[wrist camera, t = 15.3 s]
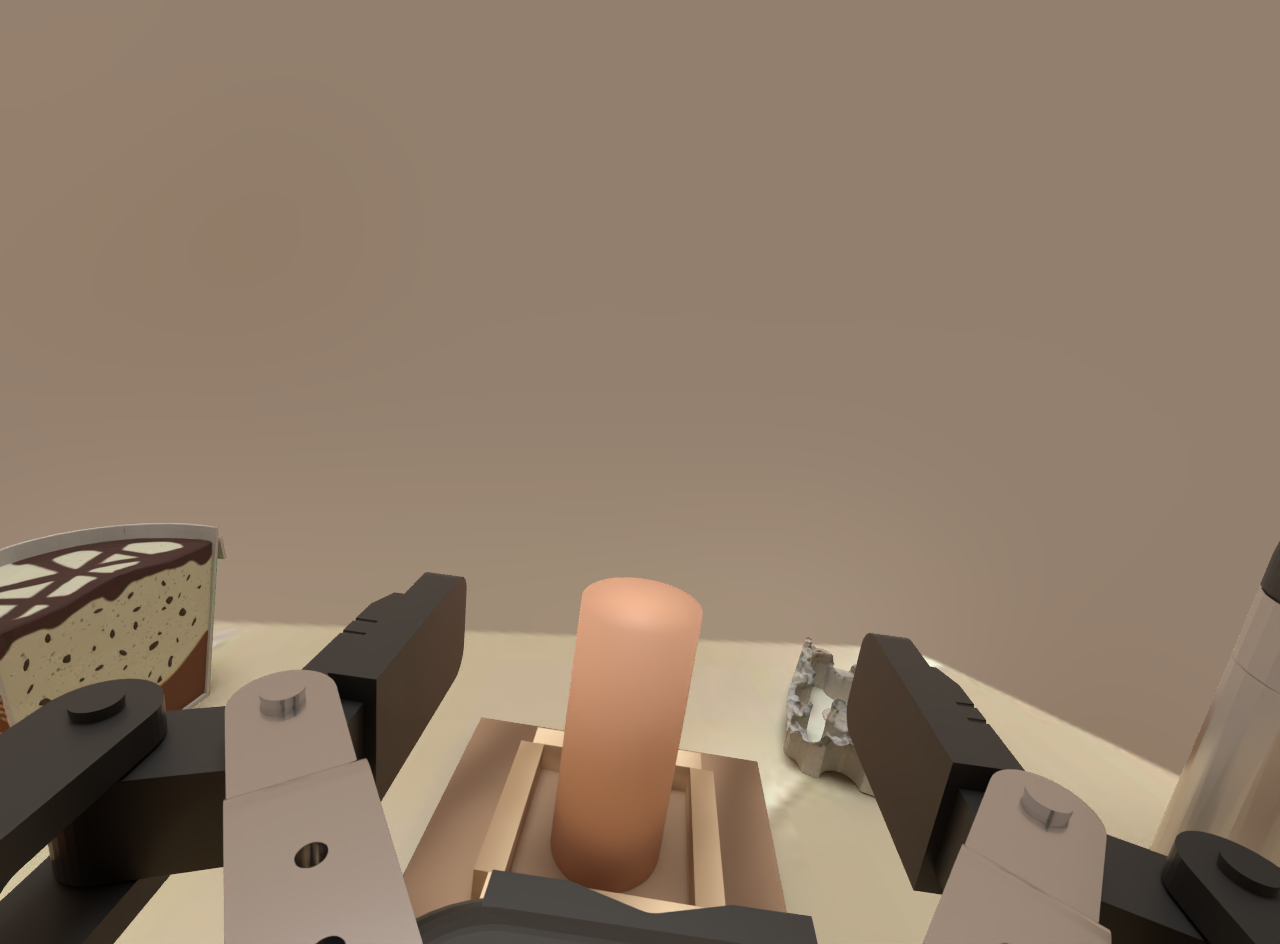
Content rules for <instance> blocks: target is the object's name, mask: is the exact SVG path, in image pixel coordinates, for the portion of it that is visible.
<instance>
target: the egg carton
mask: <svg viewBox="0 0 1280 944" xmlns="http://www.w3.org/2000/svg"><path fill="white" fill-rule="evenodd" d="M811 644H812V642H811V639H810V638H806V640H805V642H804V645H803V649H802V652H801V655H800V658H799V661H798V664H797V667H796V669H795V673H794V676H793V679H792V683H791V685H790V688H789V691H788V696H787V717H788V722H787V728H786V731H788V734H787V738H786V742H785V746H784V753H785V754H786V755H788V756H789V757H791V758H793V759H794V760H795V761H796V762H797V763H798V765H799V767H800V769H801V772H802V773H805V774H808V775H810V776H813V777H816V778H819V776H820V774H821V773H822V772H825V771H837V772H840V773H842V774H844V775H846V776H848V777H849V778H850V779H851V780H853V781H854V782H855V784H856V785H857V786H858V788H859V789H860V791H861V792H863V793H866V794H869V795H872V796H874V793H873V791H872V789H871V786H870V784H869V781H868V779H867V777H866V774H865V772H864V769H863V767H862V765H861V762H860V760H859V757H858V755H857V753H856V750H855V748H854V745H853V743H852V740H851V738H850V735H849V732H848V727H847V705H846V703H848V698H849V694H850V690H851V686H852V682H853V677H854V673H855V669H856V665H853V666H852V667H851V670H850V671H845V670H841V669H836V668H834V667H833V665H834V663H833V656H832V654H831V653H829V652H828V651H826V650H823V649H819V648H815V647H814V646H812V645H811ZM812 685H813V686H816V687H819V688H822V689H823V690H824V692H825V693H826V695H827V696H829V697H830V698H832V699H833V700H835V701H834V702H833V703H832V706H831V709H826V710H824V711H823V713H822V714H823V718H824V719H825V721H826V723H825V728H824V732H823V736H822V738H821V740H820V741H819V742H815V743H813V742H811V741H809V740H808V739H807V732H806V729H807V725H808V720H809V716H810V711H811V708H812V706H813V704H812V703H811V702H809V698H810V693H811V689H812ZM808 702H809V703H808ZM874 797H875V796H874Z"/></svg>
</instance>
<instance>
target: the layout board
mask: <svg viewBox="0 0 1280 944" xmlns="http://www.w3.org/2000/svg"><path fill="white" fill-rule="evenodd" d="M563 739H564V731H563V730H557V729H550V728H544V727H538V726H532V725H525V724H519V723H513V722H507V721H500V720H494V719H488V718H481V720H480V722H479V724H478V726H477V728H476V730H475V732H474V734H473V736H472V738H471V740H470V742H469V744H468V746H467V748H466V750H465V752H464V754H463V756H462V758H461V760H460V762H459V764H458V766H457V768H456V770H455V772H454V774H453V776H452V778H451V780H450V782H449V784H448V786H447V788H446V790H445V792H444V794H443V796H442V798H441V800H440V802H439V804H438V806H437V808H436V810H435V812H434V814H433V816H432V818H431V820H430V822H429V824H428V826H427V828H426V830H425V832H424V834H423V836H422V838H421V840H420V842H419V844H418V846H417V848H416V850H415V852H414V854H413V856H412V858H411V860H410V862H409V864H408V866H407V868H406V870H405V872H404V874H403V879H404V882H405V886H406V889H407V892H408V896H409V899H410V902H411V906H412V909H413V912H414V916H415V918H418V917H420V916H422V915H424V914H426V913H428V912H430V911H433V910H436V909H439V908H442V907H444V906H447V905H450V904H454V903H459V902H463V901H467V900H472V899H480V898H484V895H485V892H486V889H487V885H488V882H489V879H490V876H491V873H492V870H500V871H507V872H514V873H520V874H527V875H534V876H541V877H547V878H554V879H561V880H568V881H571V880H569V879H568V878H567V877H566V876H565V875H564V874H563V873H562V872H561V871H560V869H559V868H558V866H557V865H556V863H555V861H554V859H553V856H552V853H551V846H550V840H551V832H552V824H553V816H554V809H555V801H556V793H557V786H558V778H559V770H560V762H561V755H562V747H563ZM591 890H593V891H596V892H598V893H601V894H603V895H605V896H608V897H610V898H613V899H615V900H618V901H620V902H622V903H625V904H627V905H630V906H632V907H634V908H637V909H639V910H642V911H645V912H648V913H664V912H673V911H682V910H691V909H700V908H709V907H717V906H726V905H737V906H744V907H751V908H757V909H764V910H771V911H778V912H784V913H787V911H786V906H785V901H784V896H783V891H782V886H781V881H780V876H779V871H778V865H777V860H776V855H775V850H774V845H773V840H772V835H771V830H770V825H769V819H768V814H767V809H766V804H765V799H764V794H763V789H762V784H761V779H760V774H759V768H758V763H757V762H756V761H750V760H744V759H737V758H731V757H725V756H719V755H712V754H706V753H700V752H694V751H687V750H681V749H678V755H677V760H676V766H675V771H674V777H673V782H672V788H671V793H670V799H669V804H668V810H667V815H666V821H665V826H664V832H663V837H662V843H661V848H660V854H659V859H658V862H657V865H656V867H655V869H654V871H653V872H652V874H651V875H650V876H649V877H648V879H647V880H645V881H644V882H643V883H642V884H640V885H639V886H637V887H635V888H633V889H630V890H628V891H624V892H619V893H613V892H607V891H601V890H595V889H591Z"/></svg>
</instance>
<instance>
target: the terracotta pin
mask: <svg viewBox="0 0 1280 944" xmlns="http://www.w3.org/2000/svg"><path fill="white" fill-rule="evenodd" d="M702 617H703V612H702V608H701V606H700V605H699V603H698V602H697V601H696V600H695V599H694V598H693V597H691V596H690V595H689V594H687V593H685V592H684V591H682V590H680V589H678V588H676V587H673V586H670V585H668V584H665V583H661V582H658V581H653V580H647V579H642V578H630V577H629V578H628V577H627V578H626V577H625V578H624V577H621V578H610V579H605V580H601V581H598V582H595V583H593V584H591V585H590V586H588V587H587V588H586V589H585V590H584V592H583V594H582V600H581V608H580V616H579V623H578V631H577V639H576V646H575V654H574V662H573V670H572V677H571V685H570V693H569V700H568V708H567V716H566V724H565V731H564V739H563V747H562V755H561V762H560V770H559V778H558V786H557V793H556V801H555V809H554V816H553V824H552V832H551V840H550V846H551V853H552V856H553V859H554V861H555V863H556V865H557V866H558V868H559V869H560V871H561V872H562V873H563V874H564V875H565V876H566V877H567V878H568V879H569V880H571V881H572V882H574V883H577V884H579V885H581V886H584V887H586V888H589V889H595V890H601V891H607V892H613V893H619V892H624V891H628V890H630V889H633V888H635V887H637V886H639V885H640V884H642V883H643V882H644V881H645V880H647V879H648V877H649V876H650V875H651V874H652V872H653V871H654V869H655V867H656V865H657V862H658V859H659V854H660V848H661V843H662V837H663V832H664V826H665V821H666V815H667V810H668V804H669V799H670V793H671V788H672V782H673V777H674V771H675V766H676V760H677V755H678V749H679V743H680V738H681V732H682V727H683V721H684V716H685V710H686V705H687V699H688V694H689V688H690V683H691V677H692V672H693V666H694V661H695V655H696V650H697V644H698V639H699V633H700V628H701V622H702Z"/></svg>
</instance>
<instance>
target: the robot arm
mask: <svg viewBox="0 0 1280 944" xmlns="http://www.w3.org/2000/svg"><path fill="white" fill-rule="evenodd" d="M465 608H466V581H465V578H464V577H459V576H452V575H444V574H437V573H429V572H426V573H424V574H423V575H422V576H421V577H420V578H419V580H417V581H416V583H415V584H414V585H413V586H412V587H411V588H410V589H409V590H408V591H407V592H406V593H405V594H401V593H393V594H391V595H389V596H386V597H384V598H382V599H380V600H378V601H376V602H374V603H371V604H370V605H369V606H368V607H367V608H366V609H365V610H364V611H363V612H362V613H361V614H360V615H359V616H358V617H357V618H356V621H352V622H351V623H350V624H349V625H348V626H347V627H346V628H345V629H344V630H343V633H340V634H339V635H338V636H336V637H335V638H334V639H333V640H332V641H331V642H330V643H329V644H328V645H327V646H326V647H325V648H324V649H323V650H322V651H321V652H320V653H319V654H318V655H316V656H315V657H314V658H313V659H312V660H311V661H310V662H309V663H308V664H307V665H306V666H305V667H304V668H303V669H302V670H289V671H283V672H278V673H274V674H270V675H267V676H264V677H261V678H259V679H256V680H254V681H252V682H250V683H248V684H246V685H245V686H243V687H242V688H240V689H239V690H238V691H237V692H235V693H234V694H233V695H232V696H231V698H230V699H229V700H228V702H227V704H226V706H222V707H211V708H197V709H184V710H170V711H166V707H165V698H164V692H163V689H162V688H161V687H160V686H159V685H158V684H156V683H154V682H152V681H148V680H143V679H117V680H109V681H104V682H99V683H95V684H91V685H87V686H84V687H81V688H78V689H75V690H73V691H70V692H68V693H66V694H63V695H61V696H59V697H57V698H55V699H53V700H52V701H50V702H48V703H47V704H45V705H43V706H42V707H40V708H39V709H37V710H36V711H34V712H33V713H31V714H30V715H28V716H27V717H25V718H24V719H22V720H21V721H19V722H18V723H16V724H15V725H13V726H12V727H10V728H9V729H7V730H6V731H4V732H3V733H1V734H0V893H1V892H2V890H3V888H4V887H5V886H6V884H7V883H8V882H9V880H10V879H11V878H12V877H13V876H14V875H15V874H16V873H17V872H18V871H19V870H20V869H21V868H22V867H23V866H24V865H25V864H26V863H27V862H28V861H30V860H31V859H32V858H33V857H34V856H35V855H36V854H37V853H38V852H40V851H41V850H42V849H43V848H44V847H45V846H46V845H47V844H48V847H49V853H50V856H49V857H48V858H46V859H45V860H44V861H43V862H42V863H41V864H40V865H39V866H38V867H37V868H36V869H35V870H34V871H32V872H31V873H30V874H29V875H28V876H27V877H26V878H25V879H24V880H23V881H22V882H21V883H20V884H18V885H17V886H16V887H15V888H14V889H13V890H12V891H11V892H10V893H9V894H8V895H7V896H5V897H4V898H3V899H2V900H1V901H0V944H114V942H115V941H116V940H117V939H118V938H119V936H120V935H121V934H122V933H123V932H124V930H125V929H126V928H127V927H128V925H129V924H130V923H131V922H132V921H133V919H134V918H135V917H136V916H137V915H138V913H139V912H140V911H141V910H142V909H143V907H144V906H145V905H146V904H147V903H148V901H149V900H150V899H151V898H152V897H153V895H154V894H155V893H156V892H157V890H158V889H159V888H160V887H161V886H162V884H163V883H164V882H165V881H166V880H167V878H168V877H169V876H170V875H171V874H178V873H185V872H192V871H198V870H205V869H212V868H219V867H224V944H818V943H817V939H816V934H815V930H814V926H813V921H812V917H811V916H805V915H798V914H791V913H784V912H778V911H771V910H764V909H757V908H751V907H744V906H737V905H726V906H717V907H709V908H700V909H691V910H682V911H673V912H664V913H648V912H645V911H642V910H639V909H637V908H634V907H632V906H630V905H627V904H625V903H622V902H620V901H618V900H615V899H613V898H610V897H608V896H605V895H603V894H601V893H598V892H596V891H593V890H591V889H589V888H586V887H584V886H581V885H579V884H577V883H574V882H572V881H568V880H561V879H554V878H547V877H541V876H534V875H527V874H520V873H514V872H507V871H500V870H492V873H491V876H490V879H489V882H488V885H487V889H486V892H485V895H484V898H480V899H472V900H467V901H463V902H459V903H454V904H450V905H447V906H444V907H442V908H439V909H436V910H433V911H430V912H428V913H426V914H424V915H422V916H420V917H418V918H415V916H414V912H413V909H412V906H411V902H410V899H409V896H408V892H407V889H406V886H405V882H404V879H403V876H402V872H401V869H400V865H399V862H398V859H397V855H396V852H395V849H394V845H393V842H392V839H391V835H390V832H389V829H388V825H387V822H386V819H385V815H384V812H383V808H382V805H381V801H382V799H383V797H384V796H385V794H386V792H387V791H388V789H389V787H390V786H391V784H392V782H393V781H394V779H395V777H396V776H397V774H398V773H399V771H400V769H401V768H402V766H403V764H404V763H405V761H406V759H407V758H408V756H409V754H410V753H411V751H412V749H413V748H414V746H415V744H416V743H417V741H418V739H419V738H420V736H421V734H422V733H423V731H424V730H425V728H426V726H427V725H428V723H429V721H430V720H431V718H432V716H433V715H434V713H435V711H436V710H437V708H438V706H439V705H440V703H441V701H442V700H443V698H444V696H445V695H446V693H447V692H448V690H449V688H450V687H451V685H452V683H453V682H454V680H455V678H456V676H457V674H458V671H459V668H460V665H461V661H462V656H463V649H464V632H465ZM847 727H848V732H849V735H850V738H851V740H852V743H853V745H854V748H855V750H856V753H857V755H858V757H859V760H860V762H861V765H862V767H863V769H864V772H865V774H866V777H867V779H868V781H869V784H870V786H871V789H872V791H873V793H874V796H875V798H876V801H877V803H878V806H879V808H880V810H881V813H882V815H883V818H884V820H885V822H886V825H887V827H888V830H889V832H890V834H891V837H892V839H893V842H894V844H895V847H896V849H897V851H898V854H899V856H900V859H901V861H902V863H903V866H904V868H905V871H906V873H907V875H908V878H909V880H910V883H911V885H912V888H913V890H915V891H921V892H928V893H935V894H942V896H941V899H940V901H939V904H938V906H937V909H936V911H935V914H934V916H933V919H932V921H931V924H930V926H929V929H928V931H927V934H926V936H925V939H924V941H923V944H1280V542H1279V544H1278V545H1277V547H1276V549H1275V551H1274V553H1273V555H1272V557H1271V560H1270V562H1269V564H1268V567H1267V569H1266V572H1265V574H1264V577H1263V579H1262V581H1261V586H1260V588H1259V590H1258V592H1257V594H1256V597H1255V599H1254V601H1253V604H1252V606H1251V609H1250V611H1249V613H1248V616H1247V618H1246V620H1245V623H1244V625H1243V628H1242V630H1241V632H1240V635H1239V637H1238V640H1237V642H1236V644H1235V647H1234V649H1233V651H1232V655H1231V657H1230V660H1229V662H1228V664H1227V667H1226V670H1225V672H1224V674H1223V676H1222V679H1221V681H1220V683H1219V686H1218V688H1217V691H1216V693H1215V695H1214V698H1213V700H1212V702H1211V705H1210V707H1209V710H1208V712H1207V714H1206V717H1205V719H1204V722H1203V724H1202V726H1201V729H1200V731H1199V733H1198V736H1197V738H1196V740H1195V743H1194V745H1193V748H1192V750H1191V752H1190V755H1189V757H1188V759H1187V762H1186V765H1185V767H1184V769H1183V771H1182V774H1181V776H1180V778H1179V781H1178V783H1177V786H1176V788H1175V790H1174V793H1173V795H1172V797H1171V800H1170V802H1169V805H1168V807H1167V809H1166V812H1165V814H1164V816H1163V819H1162V821H1161V824H1160V826H1159V828H1158V831H1157V833H1156V835H1155V838H1154V840H1153V843H1152V845H1151V847H1150V849H1146V848H1143V847H1140V846H1137V845H1135V844H1132V843H1129V842H1126V841H1123V840H1121V839H1118V838H1115V837H1112V836H1110V835H1107V834H1106V830H1105V827H1104V825H1103V823H1102V821H1101V820H1100V818H1099V817H1098V816H1097V814H1096V813H1095V812H1094V811H1093V810H1092V809H1091V808H1090V807H1089V806H1088V805H1087V804H1086V803H1085V802H1084V801H1082V800H1081V799H1080V798H1079V797H1077V796H1076V795H1075V794H1073V793H1072V792H1071V791H1069V790H1067V789H1066V788H1064V787H1062V786H1061V785H1059V784H1057V783H1055V782H1053V781H1051V780H1049V779H1047V778H1044V777H1042V776H1039V775H1037V774H1034V773H1030V772H1026V771H1025V770H1024V769H1023V768H1022V766H1021V765H1020V764H1019V762H1018V761H1017V760H1016V759H1015V757H1014V756H1013V755H1012V753H1011V752H1010V751H1009V749H1008V748H1007V747H1006V745H1005V744H1004V743H1003V742H1002V740H1001V739H1000V738H999V736H998V735H997V734H996V732H995V731H994V730H993V729H992V727H991V726H990V725H989V724H986V719H985V718H984V717H983V716H982V714H981V713H980V712H979V710H978V709H977V708H974V704H973V702H972V701H971V700H970V699H969V697H968V696H967V695H966V693H965V692H964V691H963V689H962V688H961V687H960V686H959V685H958V684H957V683H956V682H954V681H953V680H952V679H950V678H949V677H948V676H946V675H945V674H944V673H942V672H941V671H940V670H938V669H937V668H935V667H930V666H929V665H928V663H927V662H926V661H925V659H924V658H923V657H922V655H921V654H920V652H919V651H918V650H917V648H916V647H915V646H914V644H913V643H912V642H911V640H910V639H908V638H902V637H895V636H888V635H880V634H873V633H869V634H867V635H866V636H865V638H864V639H863V642H862V645H861V649H860V653H859V657H858V661H857V665H856V669H855V673H854V677H853V682H852V686H851V690H850V694H849V698H848V703H847Z"/></svg>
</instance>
